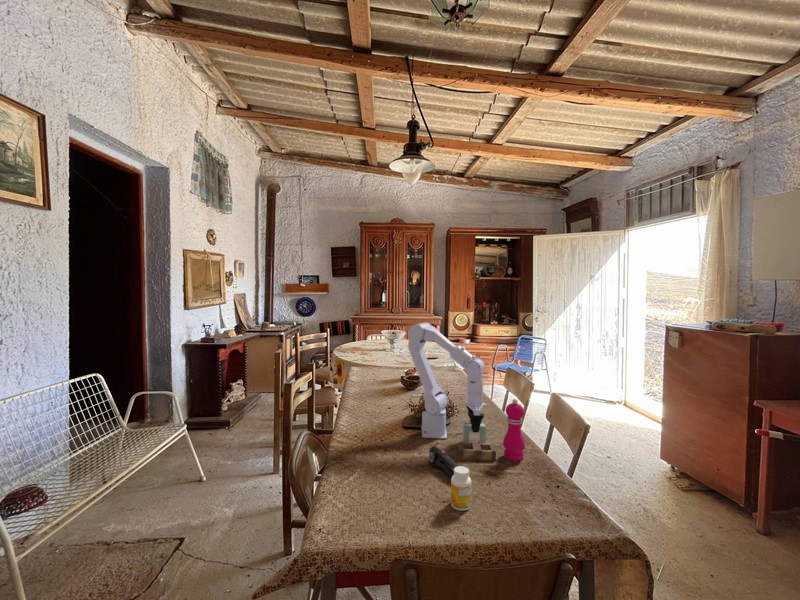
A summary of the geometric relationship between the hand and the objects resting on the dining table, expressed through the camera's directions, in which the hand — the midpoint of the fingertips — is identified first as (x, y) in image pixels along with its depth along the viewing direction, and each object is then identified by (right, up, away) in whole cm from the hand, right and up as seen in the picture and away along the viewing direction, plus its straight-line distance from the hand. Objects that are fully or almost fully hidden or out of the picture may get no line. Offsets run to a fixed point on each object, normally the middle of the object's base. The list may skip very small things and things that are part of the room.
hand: (474, 428), depth 139 cm
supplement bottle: (-11, -8, -39) cm, 41 cm away
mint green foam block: (0, -6, 0) cm, 6 cm away
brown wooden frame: (-1, -6, -10) cm, 12 cm away
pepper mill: (+11, -7, -10) cm, 17 cm away
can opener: (-13, -7, -21) cm, 25 cm away
